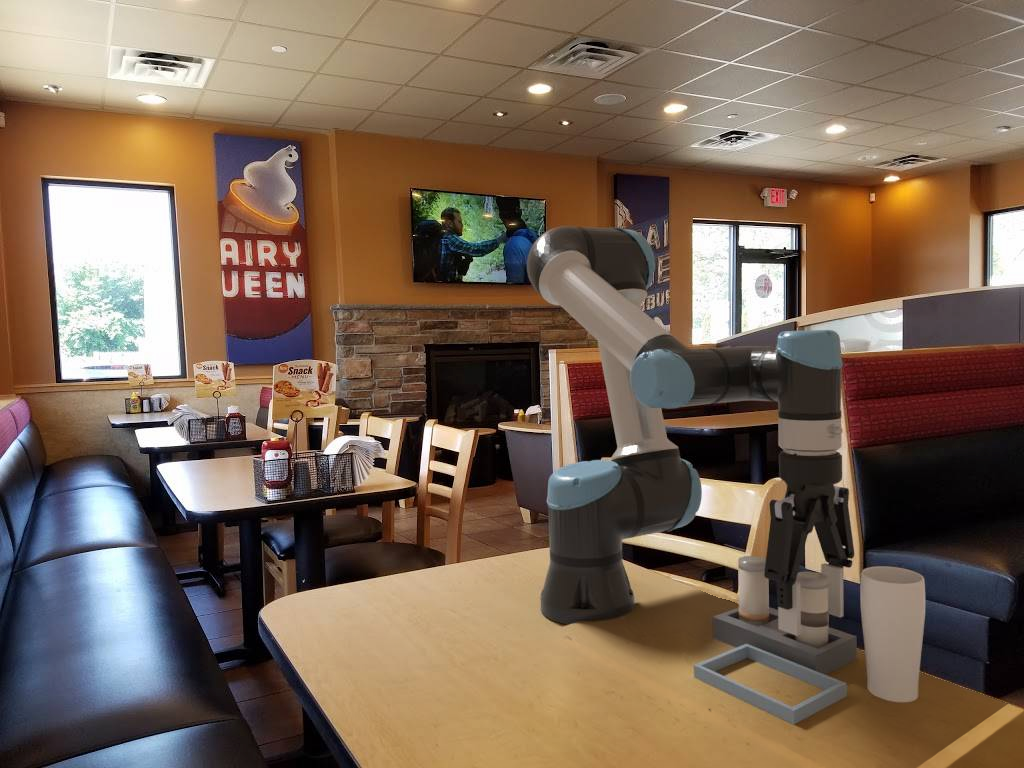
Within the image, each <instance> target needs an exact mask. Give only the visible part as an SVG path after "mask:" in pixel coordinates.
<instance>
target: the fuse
mask: <svg viewBox="0 0 1024 768" xmlns="http://www.w3.org/2000/svg"><path fill="white" fill-rule="evenodd" d="M765 563H766V557H761V556H757V555H756V556H755V555H747V556H746V555H745V556H740V557H739V558H738V559H737V566H738V567H737V568H738V569H737V570H738V575H737V576H738V578H737V579H738V580H737V581H738V607H739V620H741V621H744V622H746V623H749V624H752V625H755V626H757V627H758V626H761V625H763V624H766V623H768V622H769V607H770V602H769V601H770V598H769V597H770V596H769V595H770V594H769V588H770V586H769V584H770V583H769V581H770V579H768V578H765V576H764V572H765Z"/></svg>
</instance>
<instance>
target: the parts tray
mask: <svg viewBox="0 0 1024 768" xmlns="http://www.w3.org/2000/svg"><path fill="white" fill-rule="evenodd" d="M746 659H749V660H752V661H755V662H756V663H760V664H762V665H764V666H766V667H769V668H771V669H773V670H776V671H779V672H781V673H782V674H785V675H788V676H791V677H793V678H795V679H797V680H800V681H802V682H805V683H808V684H810V685H813V686H815V687H817V688H820V689H822V691H821V692H818V693H817V694H815V695H813V696H811V697H809V698H807V699H805V700H803V701H801V702H799V703H798V704H795V705H793V706H791V705H789V704H787V703H784V702H783V701H780V700H778V699H775V698H773V697H771V696H769V695H766V694H764V693H762V692H761V691H758V690H756V689H754V688H752V687H750V686H746V685H745V684H742V683H741V682H738V681H736V680H734V679H732V678H729V677H727V676H725V675H723V674H721V673H718V672H717V671H719V670H722V669H724V668H726V667H729V666H732V665H733V664H736V663H738V662H740V661H743V660H746ZM693 678H695V679H697V680H699V681H702V682H704V683H705V684H707V685H710V686H712V687H713V688H716V689H719V690H720V691H722V692H725V693H727V694H729V695H730V696H734V697H735V698H737V699H739V700H741V701H743V702H746V703H748V704H749V705H752V706H754V707H756V708H758V709H761V710H762V711H765V712H767V713H768V714H771V715H773V716H775V717H777V718H779V719H781V720H783V721H785V722H787V723H790V724H792V725H796V724H797V723H800V722H802V721H803V720H805V719H807V718H809V717H810V716H813V715H814V714H816V713H818V712H820V711H822V710H824V709H825V708H828V707H829V706H831V705H833V704H834V703H837V702H839V701H841V700H843V699H845V698H846V697H848V695H847V694H848V686H847V685H848V684H847V682H844V681H842V680H840V679H837V678H835V677H831V676H829V675H828V674H826V675H824V674H822V673H819V672H817V671H814V670H812V669H809V668H807V667H804V666H802V665H799V664H797V663H794V662H792V661H789V660H787V659H784V658H781V657H779V656H776V655H774V654H771V653H769V652H766V651H764V650H761V649H759V648H756V647H754V646H751V645H749V644H744V645H742V646H739V647H735V648H734V647H733V648H732V649H729V650H727V651H725V652H722V653H720V654H717V655H715V656H713V657H710V658H708V659H706V660H703V661H701V662H698V663H696V664H694V665H693Z"/></svg>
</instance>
